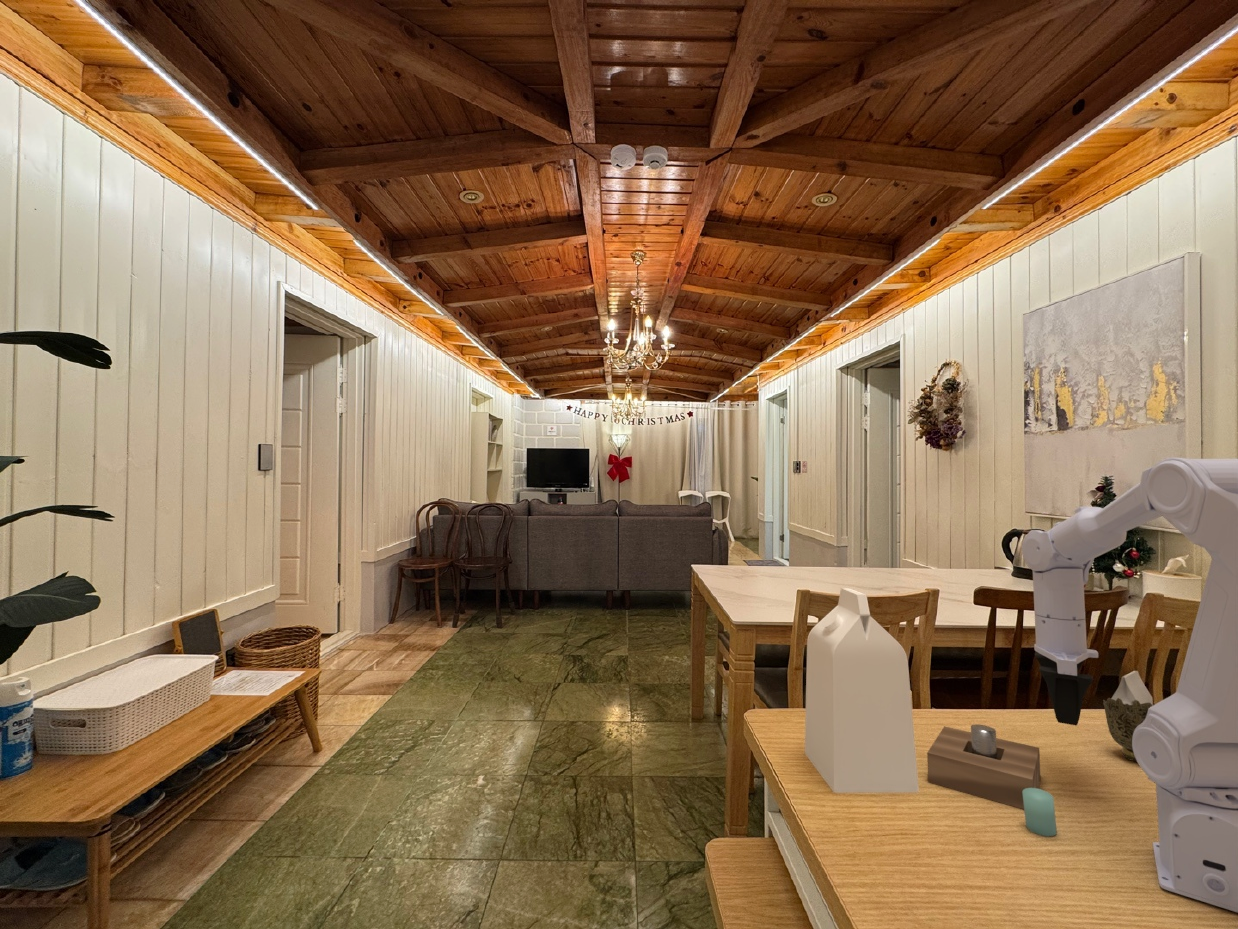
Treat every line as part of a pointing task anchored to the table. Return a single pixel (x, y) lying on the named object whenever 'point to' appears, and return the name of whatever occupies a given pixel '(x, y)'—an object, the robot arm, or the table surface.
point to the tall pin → (983, 741)
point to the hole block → (983, 767)
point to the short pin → (1039, 811)
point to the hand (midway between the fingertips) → (1064, 714)
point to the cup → (1125, 722)
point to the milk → (859, 703)
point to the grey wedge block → (1132, 690)
